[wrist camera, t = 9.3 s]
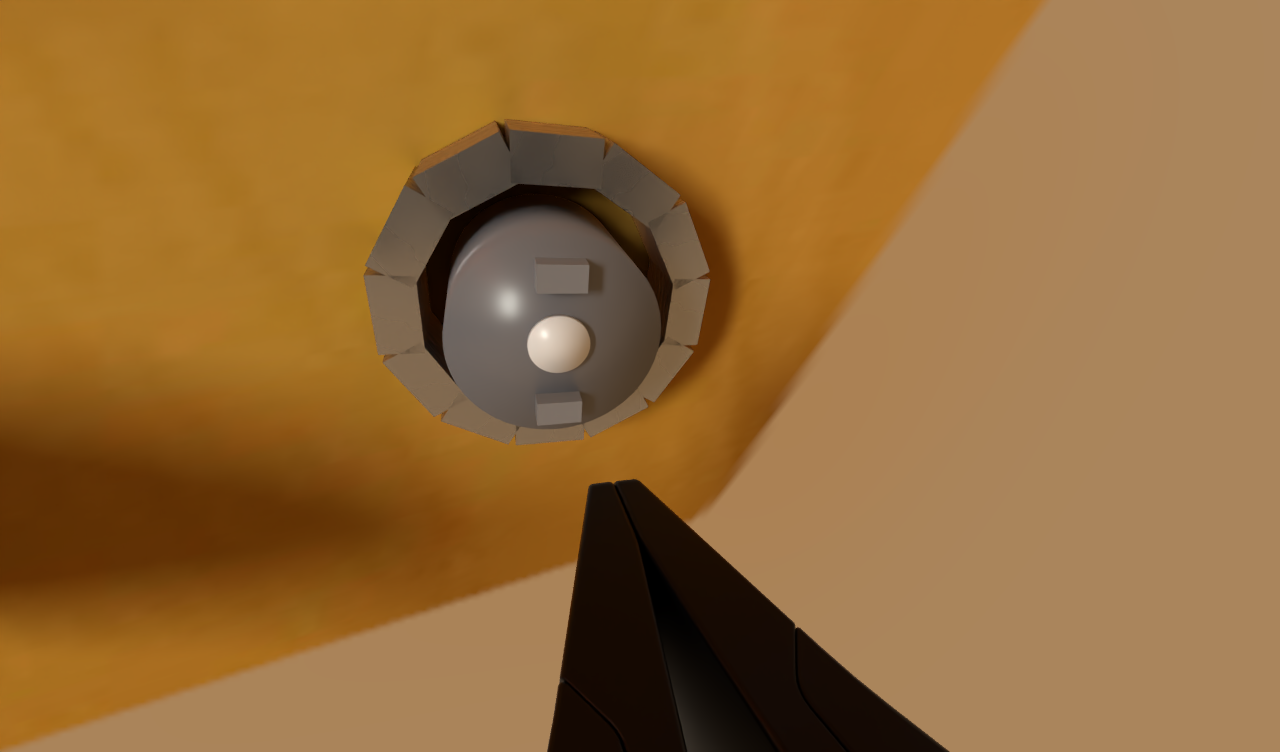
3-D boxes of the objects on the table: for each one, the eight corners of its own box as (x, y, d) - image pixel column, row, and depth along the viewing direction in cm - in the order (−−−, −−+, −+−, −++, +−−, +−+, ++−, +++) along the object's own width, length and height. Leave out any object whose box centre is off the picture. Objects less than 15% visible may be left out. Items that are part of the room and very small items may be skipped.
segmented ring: (406, 409, 17) (397, 455, 15) (356, 103, 12) (333, 112, 10) (659, 393, 20) (679, 431, 18) (701, 139, 15) (736, 151, 13)
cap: (457, 358, 17) (452, 449, 13) (440, 188, 14) (427, 237, 10) (614, 351, 18) (653, 430, 14) (627, 198, 16) (681, 243, 12)
